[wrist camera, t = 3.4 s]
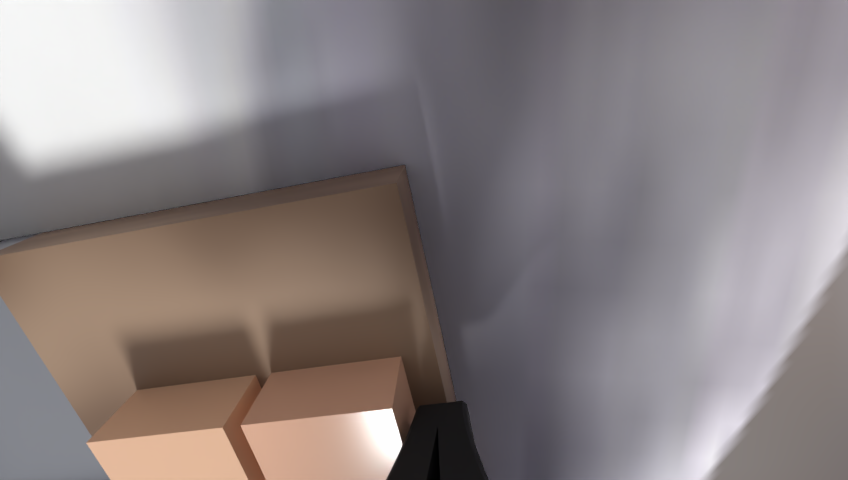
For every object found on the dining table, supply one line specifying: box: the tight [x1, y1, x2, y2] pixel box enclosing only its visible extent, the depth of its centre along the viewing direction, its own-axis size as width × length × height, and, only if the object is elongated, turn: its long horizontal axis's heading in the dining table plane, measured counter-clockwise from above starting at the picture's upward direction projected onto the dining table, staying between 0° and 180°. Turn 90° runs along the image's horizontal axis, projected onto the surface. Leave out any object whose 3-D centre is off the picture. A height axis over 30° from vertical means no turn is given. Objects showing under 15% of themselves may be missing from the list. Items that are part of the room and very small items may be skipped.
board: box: [0, 165, 456, 436], centre depth 14 cm, size 14×12×2 cm
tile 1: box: [240, 356, 416, 480], centre depth 12 cm, size 4×4×2 cm
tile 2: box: [86, 375, 266, 480], centre depth 13 cm, size 4×4×2 cm
